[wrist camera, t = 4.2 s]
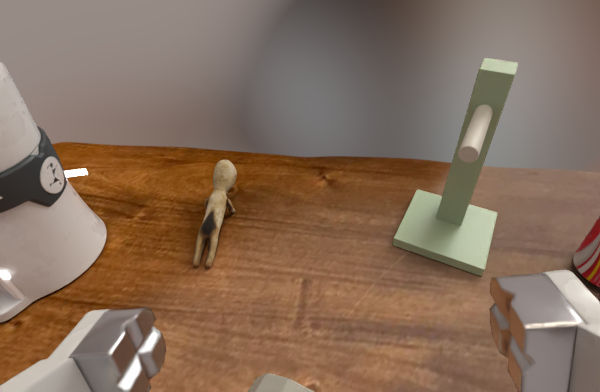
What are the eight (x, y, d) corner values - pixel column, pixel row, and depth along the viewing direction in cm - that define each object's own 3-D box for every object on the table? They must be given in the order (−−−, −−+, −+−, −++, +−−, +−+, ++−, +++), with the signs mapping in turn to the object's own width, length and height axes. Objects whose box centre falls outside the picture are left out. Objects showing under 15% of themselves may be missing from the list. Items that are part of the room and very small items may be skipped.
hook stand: (477, 293, 41) (556, 126, 28) (385, 259, 45) (416, 97, 31) (494, 219, 49) (561, 63, 36) (415, 195, 53) (450, 46, 40)
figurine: (222, 276, 46) (243, 176, 54) (213, 258, 42) (237, 154, 51) (191, 275, 46) (217, 175, 55) (179, 256, 42) (209, 153, 51)
